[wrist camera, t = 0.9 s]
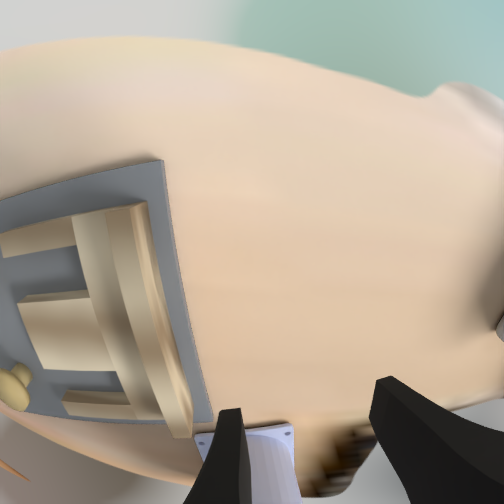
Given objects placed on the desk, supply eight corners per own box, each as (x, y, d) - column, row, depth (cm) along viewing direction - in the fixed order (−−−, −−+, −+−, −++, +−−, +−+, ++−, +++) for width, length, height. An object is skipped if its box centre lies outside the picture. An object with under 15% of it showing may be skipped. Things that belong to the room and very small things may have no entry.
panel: (194, 404, 19) (191, 438, 16) (74, 403, 18) (61, 430, 15) (147, 200, 15) (129, 208, 12) (10, 229, 14) (-20, 241, 11)
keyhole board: (213, 414, 20) (213, 451, 16) (23, 405, 19) (7, 430, 15) (163, 160, 15) (146, 158, 12) (-47, 219, 14) (-77, 230, 10)
